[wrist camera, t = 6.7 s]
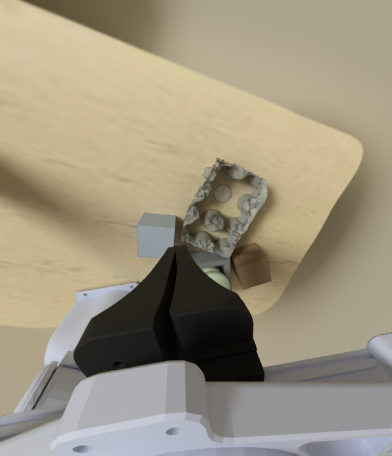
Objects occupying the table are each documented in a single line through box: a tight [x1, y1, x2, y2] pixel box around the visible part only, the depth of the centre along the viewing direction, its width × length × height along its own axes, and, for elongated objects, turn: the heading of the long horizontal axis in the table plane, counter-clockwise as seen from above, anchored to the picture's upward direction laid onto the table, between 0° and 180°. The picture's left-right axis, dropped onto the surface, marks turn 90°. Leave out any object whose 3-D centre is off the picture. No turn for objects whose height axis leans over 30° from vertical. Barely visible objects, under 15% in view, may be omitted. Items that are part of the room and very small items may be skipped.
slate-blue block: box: [137, 213, 176, 258], centre depth 21 cm, size 4×4×4 cm
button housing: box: [189, 250, 232, 291], centre depth 24 cm, size 6×6×3 cm
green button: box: [202, 266, 230, 290], centre depth 23 cm, size 5×5×4 cm
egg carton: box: [180, 158, 268, 258], centre depth 20 cm, size 11×8×4 cm
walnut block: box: [230, 243, 271, 290], centre depth 24 cm, size 4×4×4 cm
